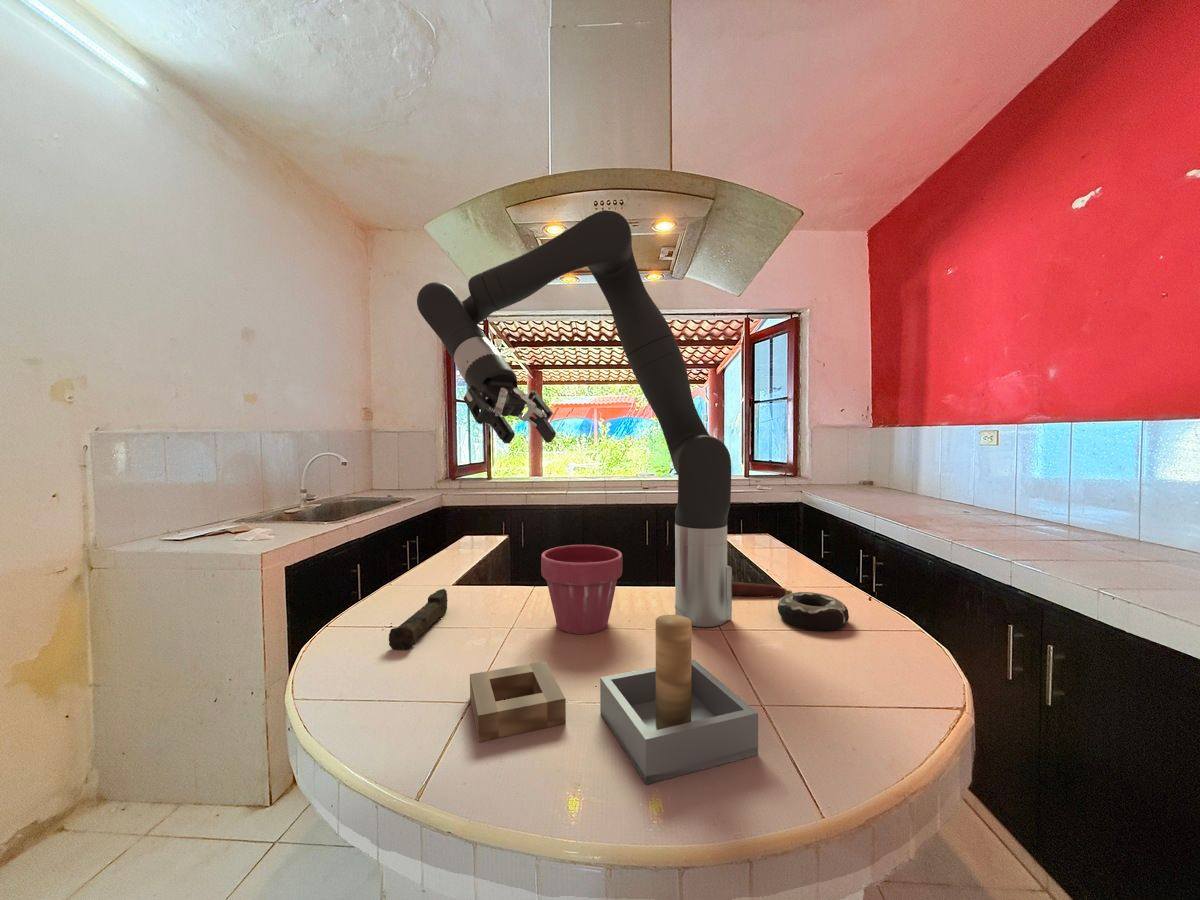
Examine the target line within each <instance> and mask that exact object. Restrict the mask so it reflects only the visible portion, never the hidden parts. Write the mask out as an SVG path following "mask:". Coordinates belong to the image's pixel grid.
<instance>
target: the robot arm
mask: <svg viewBox="0 0 1200 900" xmlns="http://www.w3.org/2000/svg"><path fill="white" fill-rule="evenodd" d="M632 236H633V235H632V230H631V226H630V224H629V222H628V220H627V219H626V218H625V216H623V214H621V213H619V212H617V211H616V210H611V209H601V210H598V211H595V212H593V213H591V214H589V215H588V216H586V217H584V218H583V219H581V220H580V221H579V222H577V223H575V224H574V225H572V226H571V227H570V228H567V229H566V230H565V231H563V232H562V233H560V234H557V236H555V237H553V238H551V239H549V240H548V241H545V242H544V243H543V244H540V245H539V246H537V247H535V248H533V249H531V250H529V251H528V252H525V253H523V254H521V255H519V256H517V257H514V258H512V259H510V260H507V261H505V262H502V263H501V264H498V265H496V266H493V267H491V268H489V269H486V270H483V271H481V272H479V273H477V274H475V275H473V276H472V277H470V279H469V280H468V282H467V285H468V286H467V287H468V291H469V294H470V295H469V296H468V297H467V298H466V299H464V300H462V299H460V298H459V296H458V295H457V294H456V293H455V291H454V289H452V287H450V286H449V285H447V284H445V283H444V282H439V281H434V282H429V283H426V284H425V285H424V286H423V287H421V288H420V290H419V292H418V294H417V297H416V306H417V309H418V312H419V314H420V315H421V317H422V318H423V319H424V320H425V322H426V323H427V324H428V325H429V327H430V328H431V329H432V330H433V332H434V333H435V334H436V335H437V337H438V338H439V339H440V341H441V342H442V344H443V345H444V347H445V349H446V351H447V352H448V354H449V356H450V358H451V359H452V361H453V362H454V364H455V365H456V368H457V370H458V372H459V374H460V376H461V377H462V379H463V381H464V382H465V383H466V385H467V387H468V389H467V391H466V393H465V395H464V397H463V398H462V399H463V401H464V403H465V404H466V406H467V408H468V410H469V411H470V413H471V415H472V417H473V419H474V420H475V422H476V423H477V424H478V425H483V424H484V423H485V424H487V426H489V427H490V428H492V429H493V430H494V432H495V433H496V436H497V437H498V438H499V439H500V440H501V441H502V442H503V443H504V444H510V443H511V442H512V441H513V439H514V438H515V432H514V430H513V428H512V427H511V424H509V422H508V420H507V419H506V417H517V418H518V419H520V420H521V421H523V423H525V422H528V423H530V424H531V425H533V426H534V427H535V429H536V431H537V432H538V433H539V435H540V436H541V437H542V439H543V440H544V442H545V443H552V442H553V440H554V439H555V437H556V433H557V432H556V431H555V429H554V428H553V426H552V425H551V423H550V422H549V420H550V418H551V417H552V416H553V414H554V413H553V411H552V410H551V409H550V407H549V406H548V405H547V403H546V402H545V401H544V400H543V398H542V397H541V396H540V394H539V393H538V392H537V391H536V390H531V391H530V393H525V392H524V391H522V390H521V389H520V388H519V387H518V386H519V385H518V378H517V375H516V373H515V371H514V370H513V369H512V367H511V366H510V365H509V363H508V362H507V361H506V359H505V357H503V355H502V354H501V352H500V350H499V349H498V348H497V347H496V346H495V345H494V344H493V343H492V342H491V341H490V339H489V338H488V337H487V335H486V334H485V333H484V331H483V329H481V327H480V326H479V324H480V323H482V322H483V321H484V320H486V318H488V317H489V316H490V315H491V314H493V313H495V312H497V311H500V310H502V309H505V308H508V307H510V306H512V305H515V304H516V303H519V302H521V301H524V300H525V299H527V298H528V297H530V296H532V295H533V294H535V293H537V292H538V291H540V290H541V289H542V288H544V287H545V286H547V285H548V284H550V283H551V282H553V281H555V280H557V279H558V278H560V277H562V276H564V275H566V274H568V273H571V272H574V271H576V270H579V269H583V268H588V269H589V271H590V272H591V275H592V276H593V278H594V279H595V282H596V283H597V284H598V286H599V288H600V290H601V292H602V293H603V296H604V297H605V300H606V302H607V304H608V306H609V309H610V312H611V315H612V318H613V321H614V325H615V328H616V332H617V334H618V338H619V341H620V344H621V346H622V349H623V352H624V354H625V357H626V360H627V362H628V364H629V366H630V368H631V370H632V372H633V375H634V377H635V379H636V381H637V384H638V385H639V387H640V389H641V391H642V393H643V395H644V397H645V398H646V401H647V403H648V404H649V406H650V408H651V410H652V412H653V413H654V415H655V417H656V418H657V421H658V423H659V425H660V426H659V427H660V428H661V431H662V434H663V437H664V440H665V442H666V445H667V449H668V452H669V455H670V459H671V462H672V466H673V469H674V471H675V472H676V474H677V502H676V508H675V511H674V517H675V518H674V519H675V520H674V539H675V540H674V541H675V542H674V544H675V545H674V549H675V550H674V553H675V554H674V555H675V556H674V559H675V562H674V563H675V566H674V567H675V568H674V570H675V571H674V575H675V576H674V579H675V582H674V583H675V586H674V587H675V589H674V590H675V592H674V594H675V597H674V598H675V602H674V603H675V604H674V608H675V612H674V613H675V614H674V615H680V616H684V617H687V618H688V619H690V620H691V622H692V626H693V627H698V628H699V627H700V628H701V627H702V628H708V627H709V628H710V627H711V628H712V627H718V626H721V625H723V624H726V622H727V621H731V620H733V595H732V582H733V574H732V573H733V569H732V566H729V565H728V515H729V511H730V509H731V499H732V497H731V495H732V493H731V492H732V459H731V454H730V452H729V449H728V447H727V446H726V445H725V443H723V441H722V440H720V439H718V438H716V437H714V436H711V435H710V434H709V432H708V430H707V428H706V425H704V422H703V420H702V419H701V417H700V414H699V412H698V410H697V408H696V406H695V402H694V398H693V395H692V390H691V384H690V379H689V376H688V375H689V374H688V369H687V367H686V363H685V360H684V356H683V354H682V351H681V349H680V347H679V344H678V342H677V340H676V338H675V335H674V333H673V330H672V329H671V326H670V325H669V323H668V321H667V320H666V318H665V317H664V315H663V314H662V312H661V310H660V309H659V307H658V306H657V304H656V303H655V302H654V301H653V299H652V297H651V296H650V294H649V293H648V291H647V289H646V287H645V285H644V282H643V280H642V276H641V274H640V271H639V268H638V266H637V262H636V258H635V256H634V251H633V247H632V246H633V243H632V242H633V241H632V240H633V238H632ZM525 408H528V409H527V411H526V412H525V413H524V412H523V411H524V409H525ZM532 413H533V415H534V416H535V417H533V416H532V415H531V414H532Z"/></svg>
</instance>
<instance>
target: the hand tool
mask: <svg viewBox="0 0 1200 900" xmlns="http://www.w3.org/2000/svg"><path fill="white" fill-rule="evenodd" d="M446 610H448V593H447V590H446V589H445V588H442V589H438V590H436V591H435V592H433V593H432V594H430V595H429V596H428V597H427V602H426V603H425V605H424V606H422V607H421V608H420V609H418V610H417V611H416V612H414V614H412V615H411V616H410V617H408V619H406V620H405V621H404V622H402V623H401V624H400V625H398V626H397V627H394V628H391V629H390V631H389V633H388V646H389V647H390V648H391V649H392V651H409V650H411V649H412V647H413V646H415V644H416V641H417V639H418V638H419V637H421V636H422V635H423V634H424V633H425V632H426V631H427V630H429V628H430V627H431V626H432V625H433V624H434V623H435V622H436V621H438V620H437V619H440V620H442V619H443V618H444V617H443V616H445V615H446V613H447V611H446ZM442 617H443V618H442ZM441 618H442V619H441Z"/></svg>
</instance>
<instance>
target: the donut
mask: <svg viewBox="0 0 1200 900" xmlns="http://www.w3.org/2000/svg"><path fill="white" fill-rule="evenodd" d="M777 611H778V614H779V615H780V617H781V618H782V620H783V621H785V622H787V623H788V624H790V625H792V626H795V627H797V628H800V629H803V630H808V631H816V632H830V631H837V630H839V629H842V628H843V627H844V626H845V625H846V624H847V623H848V621H849V619H850V616H849V610H848V607H847V606H846V605H845V604H844V603H843V602H842V601H840V600H838V599H837V598H835V597H833V596H830V595H827V594H823V593H818V592H812V591H811V592H810V591H795V592H792V593H790V594H787V595H785V596H783V597H780V599H779V600H778V603H777Z"/></svg>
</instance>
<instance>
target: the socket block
mask: <svg viewBox="0 0 1200 900" xmlns="http://www.w3.org/2000/svg"><path fill="white" fill-rule="evenodd" d="M469 698H470V702H471V704H470V705H471V708H472V714H473V721H474V723H475V725H474V726H475V730H476V735H477V741H478V743H481V742H486V741H491V740H494V739H499V738H503V737H504V738H505V737H509V736H515V735H518V734H522V733H523V734H524V733H527V732H533V731H537V730H542V729H546V728H550V727H551V728H552V727H556V726H561V725H565V724H566V723H567V719H566V717H567V715H566V714H567V713H566V704H567V703H566V700H567V699H566V697H565V695H564V692H563V691H562V689H561V688H560V686H559V684H558V682H557V680H556V678H555V677H554V674H553V673H552V671H551V669H550V667H549V665H548V664H547V662H546V661H541V662H535V663H528V664H523V665H522V664H521V665H516V666H510V667H504V668H499V669H492V670H487V671H481V672H476V673H475V672H473V673H470V674H469ZM504 699H505V700H504ZM541 728H542V729H541Z"/></svg>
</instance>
